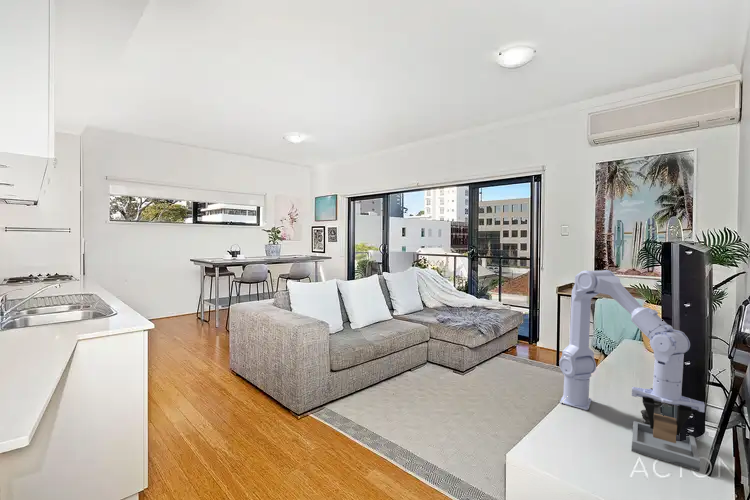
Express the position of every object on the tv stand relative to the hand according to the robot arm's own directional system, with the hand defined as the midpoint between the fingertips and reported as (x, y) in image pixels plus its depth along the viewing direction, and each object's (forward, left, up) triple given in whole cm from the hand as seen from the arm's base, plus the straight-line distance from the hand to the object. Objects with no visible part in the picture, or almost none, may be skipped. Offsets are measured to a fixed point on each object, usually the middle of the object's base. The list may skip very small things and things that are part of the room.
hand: (664, 430), depth 95 cm
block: (0, 0, -2) cm, 2 cm away
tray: (0, 0, -5) cm, 5 cm away
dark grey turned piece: (-12, -2, -5) cm, 13 cm away
